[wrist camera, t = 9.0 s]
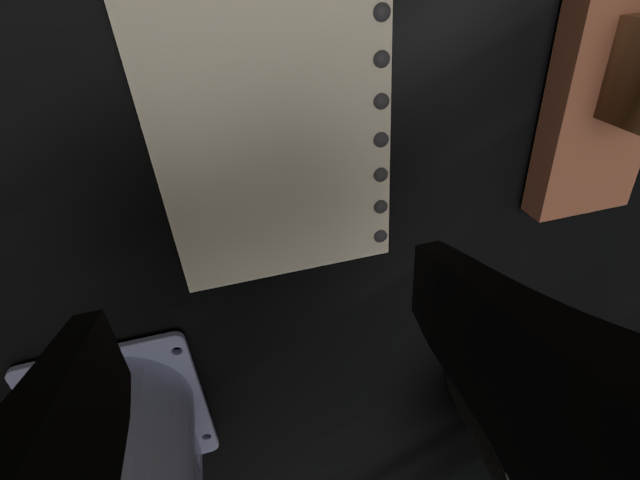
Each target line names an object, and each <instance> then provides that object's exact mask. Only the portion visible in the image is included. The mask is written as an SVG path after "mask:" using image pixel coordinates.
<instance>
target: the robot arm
mask: <svg viewBox="0 0 640 480" xmlns="http://www.w3.org/2000/svg"><path fill="white" fill-rule="evenodd" d="M412 311H413V313H414V315H415V317H416V320H417V322H418V324H419V326H420V328H421V331H422V333H423V335H424V337H425V339H426V341H427V343H428V345H429V346H430V348H431V350H432V351H433V353H434V354H435V356H436V357H437V359H438V361H439V362H440V364H441V365H442V367H443V368H444V370H445V372H446V373H447V375H448V376H449V378H450V379H451V381H452V382H453V384H454V385H455V387H456V388H457V390H458V392H459V393H460V395H461V396H462V398H463V399H464V401H465V402H466V404H467V405H468V407H469V409H470V410H471V412H472V413H473V415H474V416H475V418H476V419H477V421H478V423H479V424H480V426H481V428H482V429H483V431H484V433H485V434H486V436H487V438H488V440H489V441H490V443H491V445H492V447H493V449H494V451H495V453H496V455H497V457H498V459H499V461H500V463H501V465H502V467H503V468H504V470H505V472H506V474H507V476H508V478H509V480H640V333H638V332H635V331H632V330H629V329H626V328H624V327H621V326H618V325H615V324H613V323H610V322H607V321H605V320H602V319H600V318H597V317H595V316H592V315H589V314H587V313H584V312H582V311H579V310H577V309H575V308H572V307H570V306H567V305H565V304H563V303H561V302H559V301H556V300H554V299H552V298H550V297H548V296H546V295H543V294H541V293H539V292H537V291H535V290H533V289H531V288H529V287H527V286H525V285H523V284H521V283H519V282H517V281H515V280H513V279H511V278H509V277H507V276H505V275H503V274H501V273H499V272H498V271H496V270H494V269H492V268H490V267H488V266H486V265H485V264H483V263H481V262H479V261H477V260H475V259H473V258H472V257H470V256H468V255H466V254H464V253H462V252H461V251H459V250H457V249H455V248H453V247H451V246H449V245H447V244H445V243H443V242H441V241H435V242H430V243H425V244H420V245H416V246H415V263H414V280H413V298H412ZM175 347H179V348H180V349H173V348H175ZM5 380H6V382H7V383H8V385H9V386H10V388H11V389H12V391H11V392H10V393H9V394H8V395H7V396H6V398H5V399H4V400H3V401H2V402H1V403H0V480H203V473H202V454H205V453H208V452H212V451H215V450H216V449H217V448H218V446H219V441H218V437H217V434H216V431H215V428H214V424H213V421H212V418H211V415H210V412H209V409H208V406H207V403H206V400H205V397H204V394H203V390H202V387H201V384H200V381H199V378H198V375H197V372H196V369H195V366H194V363H193V359H192V356H191V353H190V350H189V347H188V344H187V341H186V338H185V336H184V334H183V333H181V332H178V331H172V332H168V333H163V334H158V335H154V336H149V337H145V338H140V339H135V340H131V341H126V342H122V343H117V340H116V338H115V336H114V334H113V331H112V329H111V327H110V325H109V322H108V320H107V318H106V316H105V313H104V311H103V309H102V310H97V311H92V312H87V313H82V314H78V315H73V316H72V317H71V318H70V319H69V321H68V322H67V323H66V324H65V325H64V327H63V328H62V329H61V330H60V331H59V333H58V334H57V335H56V336H55V338H54V339H53V340H52V341H51V343H50V344H49V345H48V346H47V348H46V349H45V350H44V351H43V353H42V354H41V355H40V356H39V358H38V359H37V360H36V361H34V362H30V363H25V364H20V365H16V366H13V367H10V368H9V369H8V371H7V373H6V375H5Z"/></svg>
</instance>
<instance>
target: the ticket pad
mask: <svg viewBox="0 0 640 480" xmlns="http://www.w3.org/2000/svg"><path fill="white" fill-rule="evenodd" d="M104 2H105V6H106V9H107V12H108V16H109V19H110V23H111V26H112V29H113V33H114V36H115V40H116V43H117V46H118V50H119V53H120V57H121V60H122V63H123V67H124V70H125V74H126V77H127V80H128V84H129V87H130V91H131V94H132V98H133V101H134V104H135V108H136V111H137V115H138V118H139V121H140V125H141V128H142V132H143V135H144V138H145V142H146V145H147V149H148V152H149V155H150V159H151V162H152V166H153V169H154V172H155V176H156V179H157V183H158V186H159V190H160V193H161V196H162V200H163V203H164V207H165V210H166V213H167V217H168V220H169V224H170V227H171V230H172V234H173V237H174V241H175V244H176V247H177V251H178V254H179V258H180V261H181V264H182V268H183V271H184V275H185V278H186V282H187V285H188V288H189V292H190V293H192V292H197V291H202V290H206V289H211V288H216V287H221V286H226V285H231V284H236V283H241V282H246V281H250V280H255V279H260V278H265V277H270V276H275V275H280V274H285V273H289V272H294V271H299V270H304V269H309V268H314V267H319V266H324V265H329V264H333V263H338V262H343V261H348V260H353V259H358V258H363V257H368V256H372V255H377V254H382V253H387V252H388V241H389V184H390V128H391V71H392V14H393V0H104Z"/></svg>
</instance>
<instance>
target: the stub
mask: <svg viewBox="0 0 640 480" xmlns="http://www.w3.org/2000/svg"><path fill="white" fill-rule="evenodd" d="M639 168H640V0H562V4H561V9H560V14H559V19H558V24H557V29H556V34H555V39H554V44H553V49H552V54H551V59H550V64H549V69H548V74H547V79H546V84H545V89H544V94H543V99H542V104H541V109H540V114H539V119H538V124H537V129H536V134H535V139H534V144H533V149H532V154H531V159H530V164H529V169H528V174H527V179H526V184H525V189H524V194H523V199H522V204H521V209H522V210H523V211H525V212H526V213H527V214H529V215H530V216H531V217H533V218H534V219H535V220H537V221H538V222H539V223H540V222H545V221H549V220H554V219H559V218H564V217H569V216H574V215H579V214H584V213H588V212H593V211H598V210H603V209H608V208H613V207H618V206H623V205H627V203H628V200H629V197H630V194H631V191H632V188H633V185H634V183H635V180H636V177H637V174H638V171H639Z"/></svg>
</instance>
